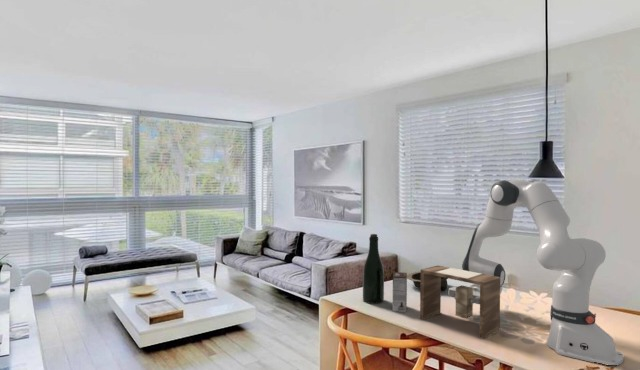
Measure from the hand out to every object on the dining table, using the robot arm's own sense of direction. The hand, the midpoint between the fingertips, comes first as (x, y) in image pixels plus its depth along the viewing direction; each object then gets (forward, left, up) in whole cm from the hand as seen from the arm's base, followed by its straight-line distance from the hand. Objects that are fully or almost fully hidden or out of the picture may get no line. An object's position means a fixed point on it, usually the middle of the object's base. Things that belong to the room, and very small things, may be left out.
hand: (463, 299), depth 167 cm
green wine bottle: (+44, +7, -10) cm, 46 cm away
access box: (0, +4, -9) cm, 10 cm away
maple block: (0, -1, -7) cm, 7 cm away
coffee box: (+28, +7, -10) cm, 30 cm away
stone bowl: (+40, -35, -10) cm, 54 cm away
